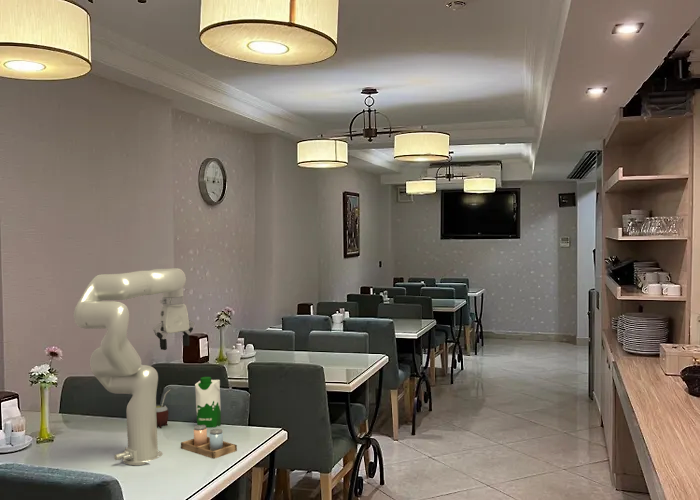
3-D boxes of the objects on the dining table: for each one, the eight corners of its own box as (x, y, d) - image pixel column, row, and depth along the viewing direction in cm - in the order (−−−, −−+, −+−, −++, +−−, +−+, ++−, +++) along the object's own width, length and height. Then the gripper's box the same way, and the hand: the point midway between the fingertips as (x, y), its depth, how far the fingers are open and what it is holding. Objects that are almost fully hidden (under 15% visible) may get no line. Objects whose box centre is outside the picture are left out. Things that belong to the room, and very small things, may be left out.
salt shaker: (215, 454, 219) (215, 433, 219) (207, 452, 222) (206, 430, 221) (225, 451, 222) (225, 430, 222) (217, 448, 225) (216, 428, 225)
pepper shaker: (199, 450, 225) (198, 429, 225) (191, 447, 228) (190, 426, 227) (209, 446, 228) (209, 426, 228) (202, 444, 231) (201, 424, 231)
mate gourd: (149, 425, 262) (147, 388, 261) (169, 422, 265) (167, 385, 265) (152, 430, 255) (150, 391, 255) (172, 427, 258) (171, 389, 258)
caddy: (213, 462, 215) (213, 452, 215) (181, 451, 227) (180, 442, 227) (237, 454, 222) (236, 444, 222) (204, 444, 235) (203, 435, 235)
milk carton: (194, 431, 252) (192, 379, 251) (202, 424, 261) (200, 374, 260) (217, 431, 251) (214, 378, 250) (223, 424, 260) (221, 373, 259)
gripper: (158, 304, 235) (160, 352, 236) (198, 299, 248) (200, 345, 249) (146, 303, 240) (148, 350, 240) (186, 299, 253) (188, 343, 253)
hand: (175, 347), depth 245 cm, fingers open, 9 cm apart
